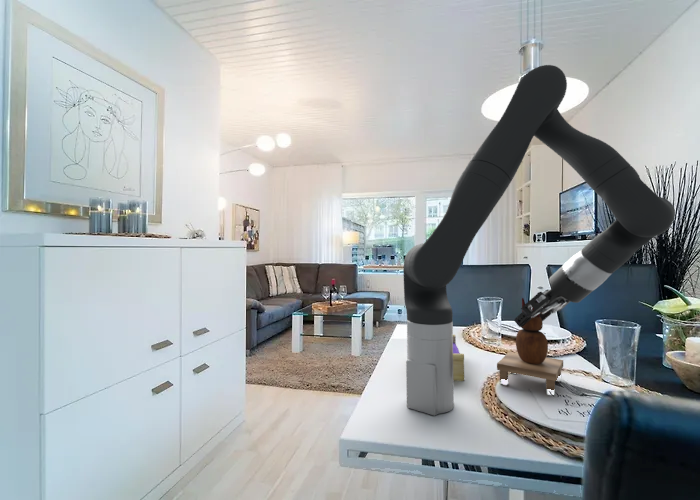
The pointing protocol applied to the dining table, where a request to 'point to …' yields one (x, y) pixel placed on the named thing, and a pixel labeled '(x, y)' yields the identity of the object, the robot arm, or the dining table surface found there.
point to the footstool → (531, 368)
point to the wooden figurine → (532, 341)
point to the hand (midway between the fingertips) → (527, 321)
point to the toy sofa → (457, 363)
